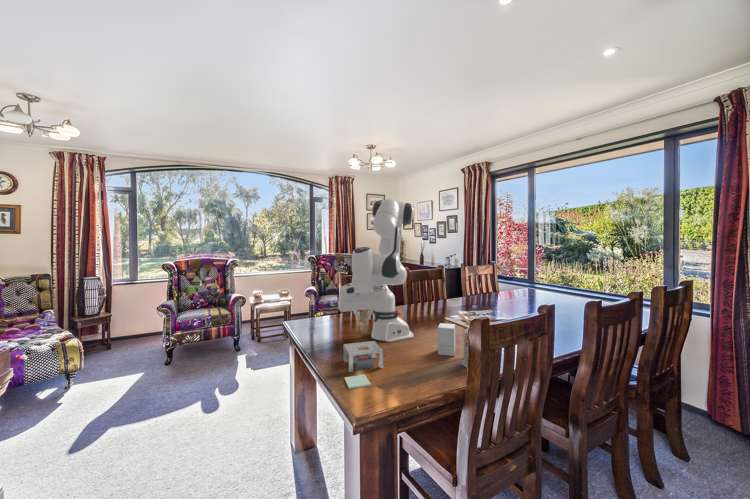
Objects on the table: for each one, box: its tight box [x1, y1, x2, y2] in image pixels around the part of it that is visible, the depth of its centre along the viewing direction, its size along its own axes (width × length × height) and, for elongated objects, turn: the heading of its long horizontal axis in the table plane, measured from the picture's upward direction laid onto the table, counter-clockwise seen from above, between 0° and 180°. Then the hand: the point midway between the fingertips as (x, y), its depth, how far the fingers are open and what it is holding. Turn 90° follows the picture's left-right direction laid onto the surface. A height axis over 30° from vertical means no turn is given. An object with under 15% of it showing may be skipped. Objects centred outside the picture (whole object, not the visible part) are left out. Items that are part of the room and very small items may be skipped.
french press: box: [461, 305, 477, 369], centre depth 133 cm, size 10×12×25 cm
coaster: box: [344, 374, 372, 390], centre depth 117 cm, size 8×8×1 cm
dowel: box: [359, 309, 368, 334], centre depth 131 cm, size 3×3×10 cm
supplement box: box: [437, 322, 456, 357], centre depth 145 cm, size 7×7×13 cm
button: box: [358, 355, 369, 360], centre depth 132 cm, size 4×4×3 cm
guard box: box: [342, 340, 384, 373], centre depth 133 cm, size 14×12×7 cm
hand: (363, 320), depth 131 cm, fingers closed on dowel, 3 cm apart
